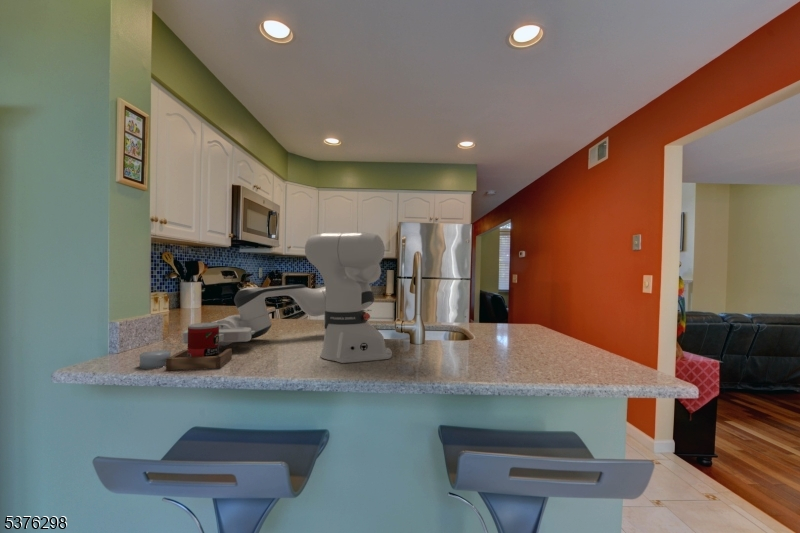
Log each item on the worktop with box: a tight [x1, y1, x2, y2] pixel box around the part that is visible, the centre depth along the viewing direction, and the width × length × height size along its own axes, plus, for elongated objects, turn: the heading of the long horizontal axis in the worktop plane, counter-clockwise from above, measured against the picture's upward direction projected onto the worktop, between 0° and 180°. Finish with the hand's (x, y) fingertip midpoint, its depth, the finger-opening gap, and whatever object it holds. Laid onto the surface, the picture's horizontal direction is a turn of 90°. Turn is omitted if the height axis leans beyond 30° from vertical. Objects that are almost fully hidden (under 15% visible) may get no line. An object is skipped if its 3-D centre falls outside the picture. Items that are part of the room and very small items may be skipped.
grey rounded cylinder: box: [139, 349, 171, 370], centre depth 96 cm, size 7×7×4 cm
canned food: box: [187, 322, 220, 357], centre depth 99 cm, size 8×8×11 cm
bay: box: [165, 348, 233, 371], centre depth 98 cm, size 13×10×3 cm
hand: (210, 340), depth 106 cm, fingers closed
